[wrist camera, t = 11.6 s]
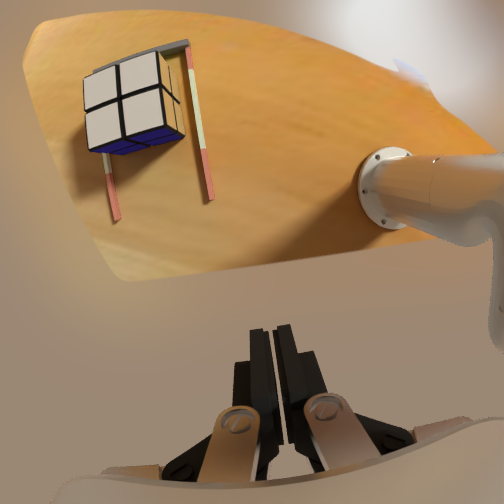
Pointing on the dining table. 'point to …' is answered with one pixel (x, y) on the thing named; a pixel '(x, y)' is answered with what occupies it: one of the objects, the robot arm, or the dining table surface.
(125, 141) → the puzzle cube
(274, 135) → the dining table surface
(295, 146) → the dining table surface
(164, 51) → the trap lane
